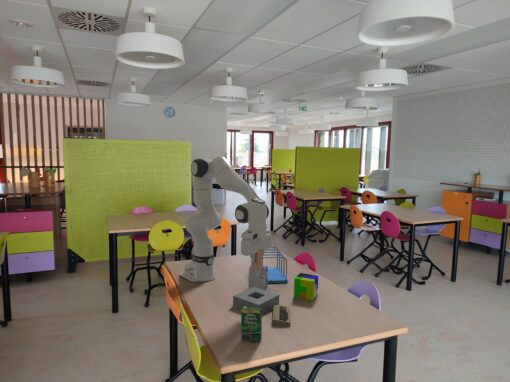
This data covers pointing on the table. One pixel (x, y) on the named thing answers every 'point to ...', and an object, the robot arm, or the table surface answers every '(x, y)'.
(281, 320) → the computer
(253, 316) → the coffee box
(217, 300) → the table surface
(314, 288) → the puzzle toy
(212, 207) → the robot arm
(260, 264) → the block
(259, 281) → the ink cartridge box
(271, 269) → the file sorter
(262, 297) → the holder
